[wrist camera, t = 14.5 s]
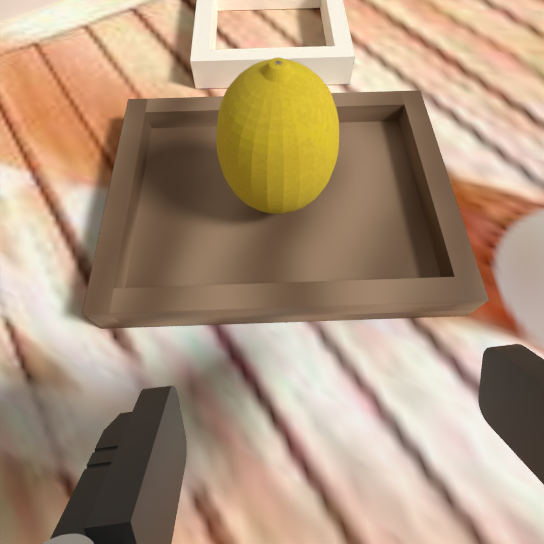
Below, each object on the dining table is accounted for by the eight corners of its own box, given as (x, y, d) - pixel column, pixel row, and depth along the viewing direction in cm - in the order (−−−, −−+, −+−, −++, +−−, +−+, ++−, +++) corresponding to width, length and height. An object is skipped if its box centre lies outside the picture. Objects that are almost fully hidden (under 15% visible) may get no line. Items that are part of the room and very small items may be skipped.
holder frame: (196, 88, 26) (190, 61, 24) (203, 3, 31) (199, -25, 29) (349, 84, 26) (355, 56, 24) (332, -1, 31) (336, -29, 29)
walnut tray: (101, 328, 18) (81, 314, 16) (139, 125, 24) (128, 99, 22) (467, 315, 18) (488, 300, 16) (409, 117, 24) (420, 90, 23)
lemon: (225, 244, 19) (196, 116, 12) (229, 164, 22) (206, 19, 14) (332, 242, 19) (365, 112, 12) (323, 162, 22) (346, 16, 14)
